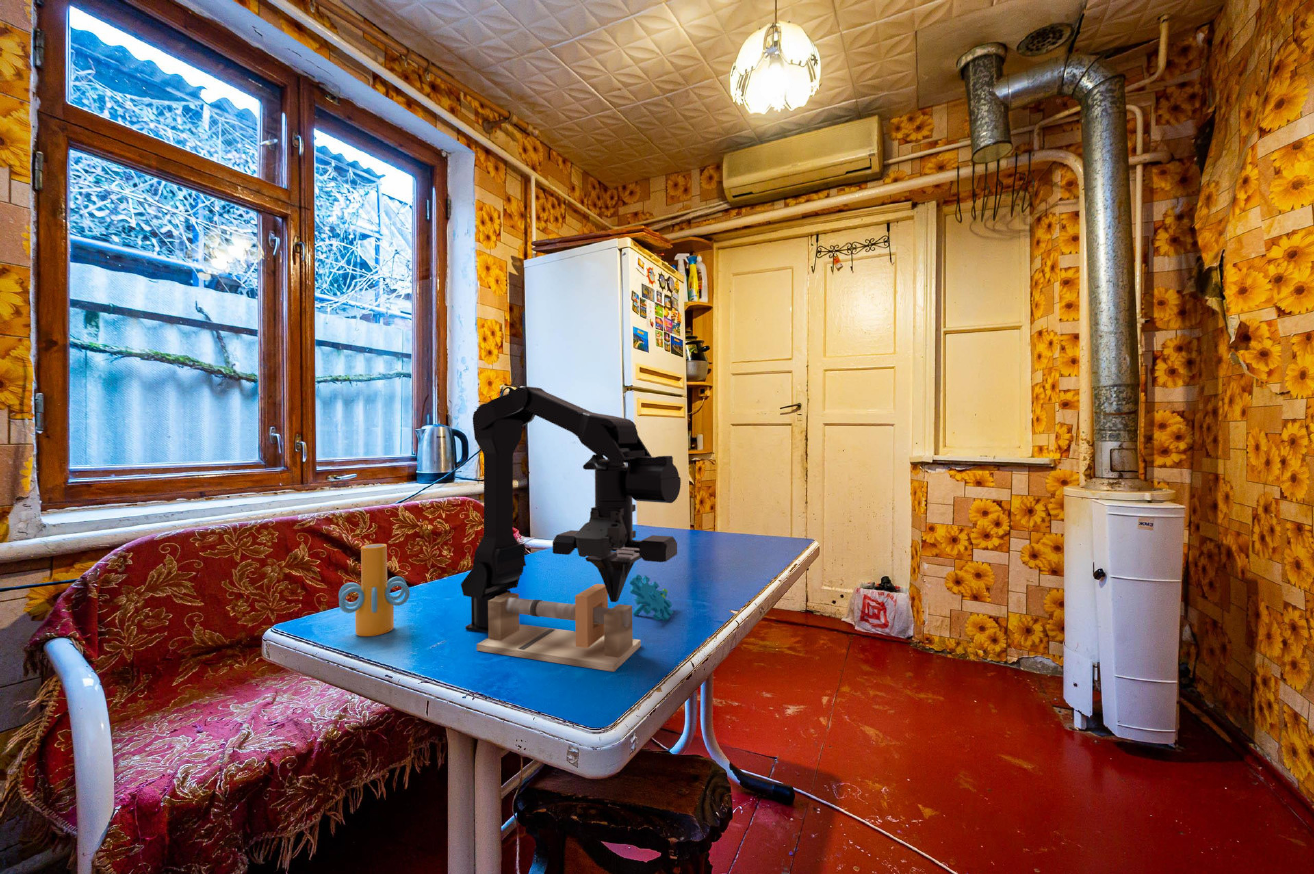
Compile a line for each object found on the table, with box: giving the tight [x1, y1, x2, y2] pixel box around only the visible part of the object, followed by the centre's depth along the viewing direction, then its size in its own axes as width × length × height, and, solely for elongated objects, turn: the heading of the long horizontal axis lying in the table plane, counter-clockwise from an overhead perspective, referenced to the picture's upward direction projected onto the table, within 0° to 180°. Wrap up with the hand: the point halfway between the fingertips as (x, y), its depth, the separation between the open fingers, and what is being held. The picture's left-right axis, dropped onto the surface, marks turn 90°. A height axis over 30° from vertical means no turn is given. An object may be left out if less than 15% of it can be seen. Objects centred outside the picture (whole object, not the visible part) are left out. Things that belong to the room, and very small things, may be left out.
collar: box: [574, 583, 609, 648], centre depth 83 cm, size 2×7×8 cm, turn 159°
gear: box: [629, 574, 674, 622], centre depth 101 cm, size 11×6×10 cm
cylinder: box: [338, 543, 411, 637], centre depth 94 cm, size 12×10×15 cm
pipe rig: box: [476, 592, 642, 672], centre depth 85 cm, size 24×10×7 cm, turn 69°
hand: (614, 601), depth 82 cm, fingers closed
